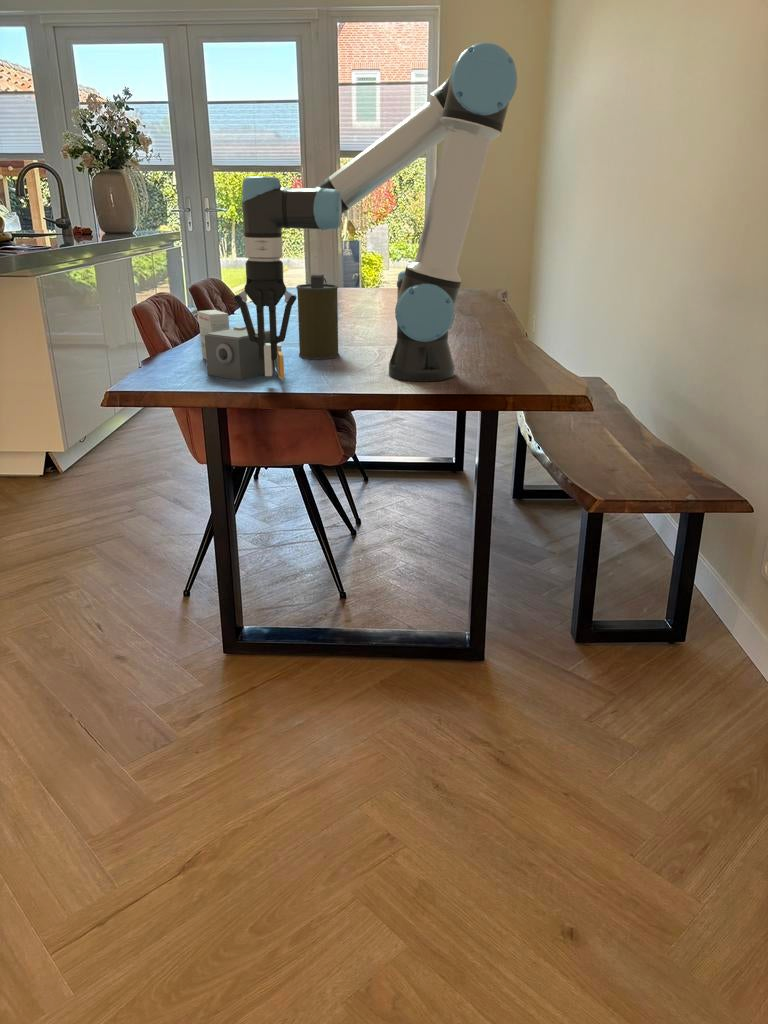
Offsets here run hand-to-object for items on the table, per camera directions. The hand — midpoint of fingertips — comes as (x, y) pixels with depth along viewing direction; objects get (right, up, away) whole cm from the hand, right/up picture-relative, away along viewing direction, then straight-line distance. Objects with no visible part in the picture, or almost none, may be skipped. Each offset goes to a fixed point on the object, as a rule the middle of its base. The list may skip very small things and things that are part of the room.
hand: (269, 374), depth 164 cm
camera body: (-8, +3, +13) cm, 16 cm away
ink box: (-17, +8, +26) cm, 32 cm away
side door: (+1, +1, +7) cm, 7 cm away
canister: (+8, +11, +33) cm, 35 cm away
